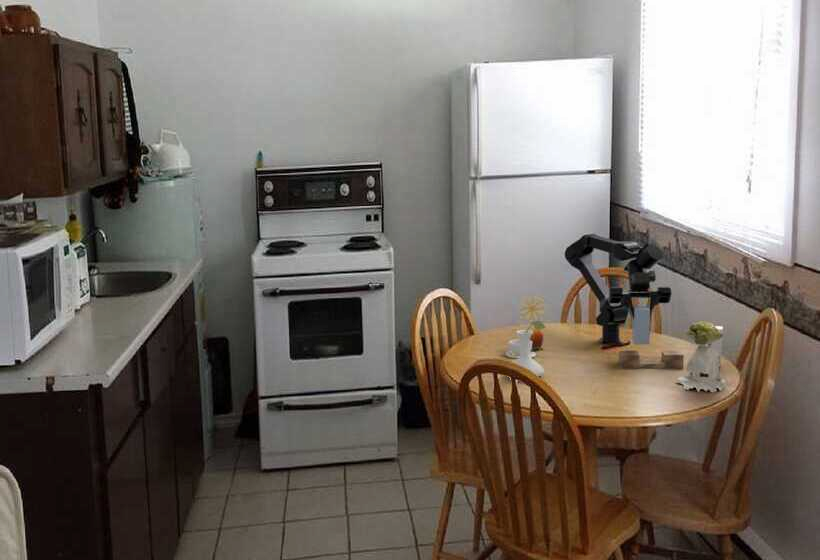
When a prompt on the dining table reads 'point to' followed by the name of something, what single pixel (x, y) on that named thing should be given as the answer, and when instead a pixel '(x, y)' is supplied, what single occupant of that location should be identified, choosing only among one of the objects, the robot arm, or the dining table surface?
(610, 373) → the dining table surface
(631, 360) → the slotted plank
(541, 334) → the fruit
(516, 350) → the teacup
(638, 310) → the blue block
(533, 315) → the flower in vase
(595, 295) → the robot arm
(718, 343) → the skincare box
